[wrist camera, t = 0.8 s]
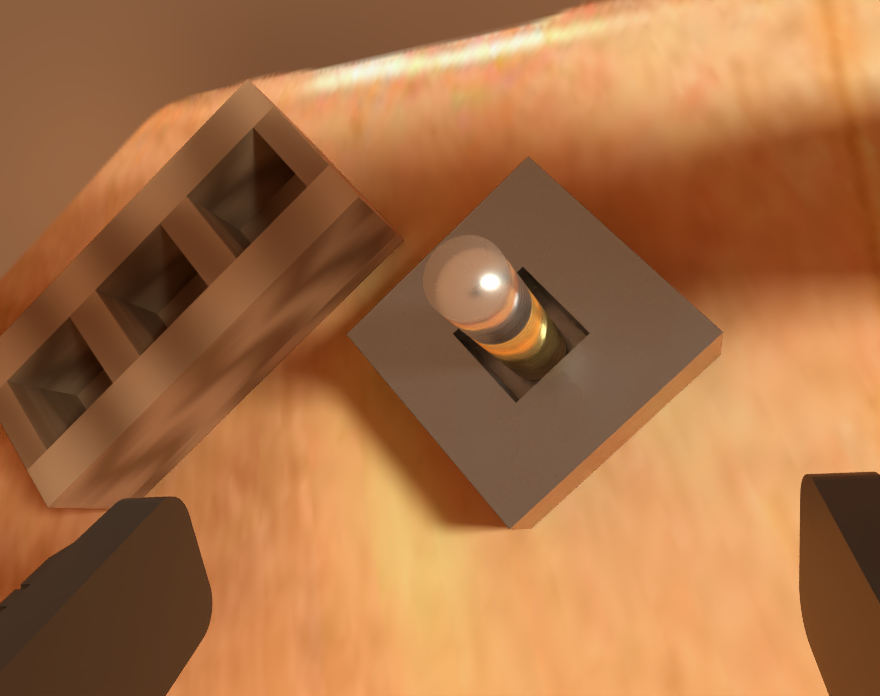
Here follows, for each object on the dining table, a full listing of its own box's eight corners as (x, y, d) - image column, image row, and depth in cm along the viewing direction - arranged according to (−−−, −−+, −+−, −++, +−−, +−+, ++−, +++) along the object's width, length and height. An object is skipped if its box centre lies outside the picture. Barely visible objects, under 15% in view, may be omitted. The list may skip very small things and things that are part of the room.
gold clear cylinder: (537, 307, 38) (468, 218, 26) (579, 350, 36) (525, 274, 25) (493, 349, 38) (406, 278, 27) (533, 392, 37) (460, 337, 26)
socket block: (546, 194, 40) (528, 156, 36) (720, 354, 35) (723, 332, 31) (382, 353, 41) (346, 334, 37) (531, 528, 36) (509, 529, 32)
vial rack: (303, 132, 46) (247, 78, 40) (404, 240, 42) (358, 196, 36) (55, 385, 48) (-31, 367, 42) (130, 509, 44) (47, 507, 38)
